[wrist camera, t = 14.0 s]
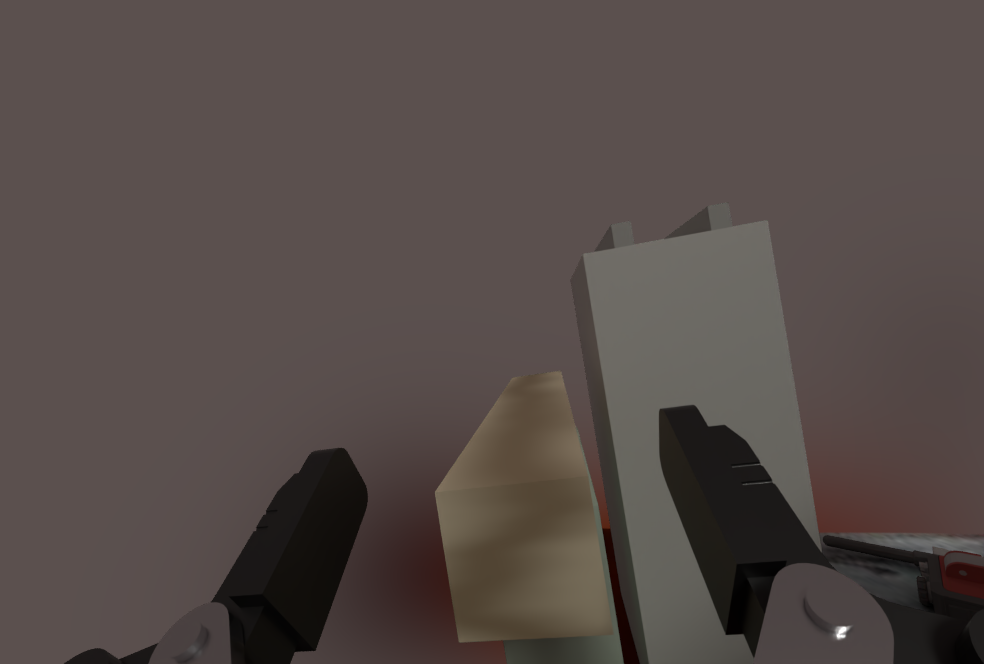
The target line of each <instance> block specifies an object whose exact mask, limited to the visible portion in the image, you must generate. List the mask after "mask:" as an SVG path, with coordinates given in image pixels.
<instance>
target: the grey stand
mask: <svg viewBox="0 0 984 664" xmlns="http://www.w3.org/2000/svg"><path fill="white" fill-rule="evenodd" d="M571 286H572V292H573V298H574V305H575V311H576V317H577V323H578V329H579V336H580V341H581V348H582V354H583V361H584V366H585V373H586V379H587V385H588V391H589V397H590V404H591V410H592V416H593V422H594V429H595V435H596V441H597V447H598V453H599V459H600V466H601V471H602V477H603V484H604V490H605V497H606V503H607V509H608V515H609V521H610V528H611V534H612V540H613V546H614V552H615V559H616V565H617V571H618V577H619V583H620V590H621V595H622V598H623V602H624V606H625V610H626V613H627V617H628V621H629V625H630V628H631V632H632V636H633V639H634V643H635V647H636V651H637V654H638V658H639V662H640V664H753V661H754V658H753V656H752V653H751V651H750V648H749V646H748V644H747V641H746V639H745V637H744V634H740V635H725V632H724V630H723V627H722V624H721V622H720V619H719V617H718V614H717V612H716V609H715V607H714V604H713V601H712V599H711V596H710V594H709V591H708V589H707V586H706V584H705V581H704V578H703V576H702V573H701V571H700V568H699V566H698V563H697V561H696V558H695V555H694V553H693V550H692V548H691V545H690V543H689V540H688V538H687V535H686V533H685V530H684V527H683V525H682V522H681V520H680V517H679V515H678V512H677V510H676V507H675V504H674V502H673V499H672V497H671V494H670V492H669V489H668V487H667V484H666V481H665V479H664V476H663V472H662V468H661V463H660V456H659V410H660V409H662V408H670V407H678V406H685V405H695V406H696V407H697V408H698V410H699V411H700V413H701V415H702V416H703V418H704V420H705V421H706V423H707V425H708V426H717V425H726V426H727V427H729V428H730V429H731V430H733V431H734V432H735V433H737V434H738V435H739V436H741V437H742V438H743V439H745V440H746V441H747V443H748V444H749V446H750V447H751V448H752V450H753V451H754V453H755V454H756V456H757V457H758V459H759V460H760V464H761V466H764V468H765V469H766V471H767V472H768V474H769V475H770V477H771V478H772V482H773V484H776V486H777V487H778V489H779V490H780V492H781V493H782V495H783V496H784V498H785V499H786V501H787V502H788V504H789V505H790V507H791V508H792V510H793V511H794V513H795V514H796V516H797V517H798V518H799V520H800V521H801V523H802V524H803V526H804V527H805V529H806V530H807V532H808V533H809V535H810V536H811V538H812V539H813V541H814V542H815V544H816V545H817V547H818V548H819V550H820V551H821V553H822V549H821V543H820V537H819V531H818V525H817V519H816V513H815V507H814V501H813V495H812V488H811V482H810V476H809V470H808V464H807V458H806V452H805V445H804V439H803V433H802V427H801V421H800V415H799V409H798V403H797V397H796V391H795V384H794V378H793V372H792V366H791V360H790V354H789V348H788V342H787V336H786V329H785V323H784V317H783V311H782V305H781V299H780V293H779V287H778V281H777V275H776V269H775V262H774V256H773V250H772V244H771V238H770V232H769V226H768V221H767V220H766V221H760V222H756V223H750V224H745V225H739V226H734V227H732V222H731V216H730V210H729V204H728V203H722V204H717V205H712V206H707V207H706V208H705V209H703V210H702V211H701V212H699V213H698V214H697V215H695V216H694V217H693V218H691V219H690V220H689V221H687V222H686V223H685V224H683V225H682V226H680V227H679V228H678V229H676V230H675V231H674V232H672V233H671V234H670V235H669V236H667V237H666V238H664V239H662V240H657V241H652V242H646V243H641V244H635V245H634V241H633V234H632V228H631V222H630V221H629V222H623V223H618V224H613V225H611V226H610V227H609V229H608V231H607V232H606V234H605V235H604V237H603V239H602V240H601V242H600V244H599V245H598V247H597V248H596V250H595V252H592V253H586V254H583V255H582V257H581V259H580V261H579V263H578V266H577V267H576V269H575V272H574V274H573V276H572V278H571Z"/></svg>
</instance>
